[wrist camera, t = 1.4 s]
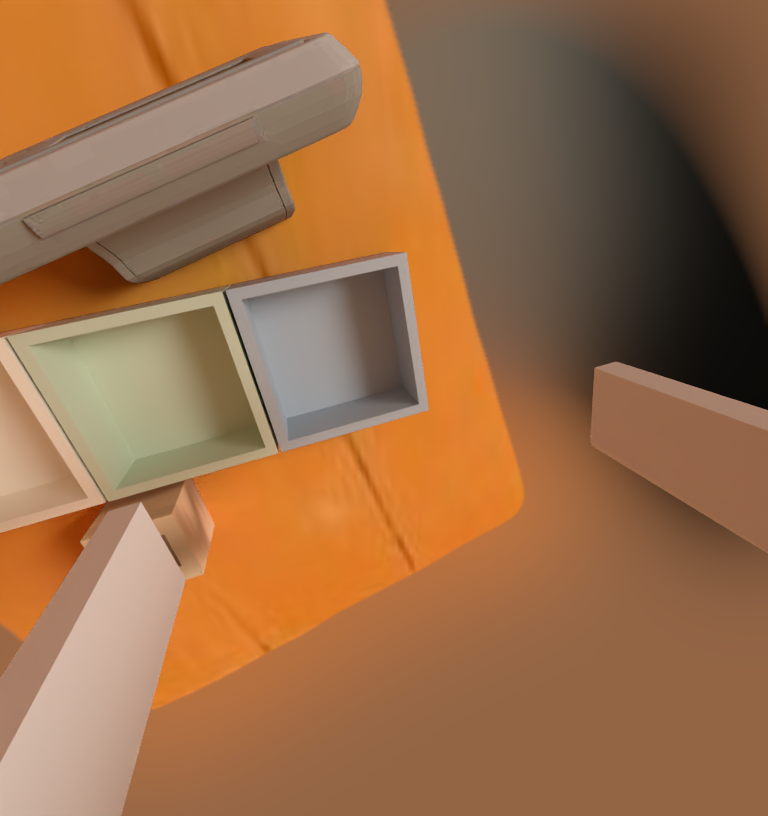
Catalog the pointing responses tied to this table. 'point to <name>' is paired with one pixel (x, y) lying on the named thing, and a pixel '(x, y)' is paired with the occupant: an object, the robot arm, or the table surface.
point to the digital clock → (177, 164)
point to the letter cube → (172, 522)
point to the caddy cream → (36, 452)
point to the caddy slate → (333, 346)
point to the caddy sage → (152, 390)
